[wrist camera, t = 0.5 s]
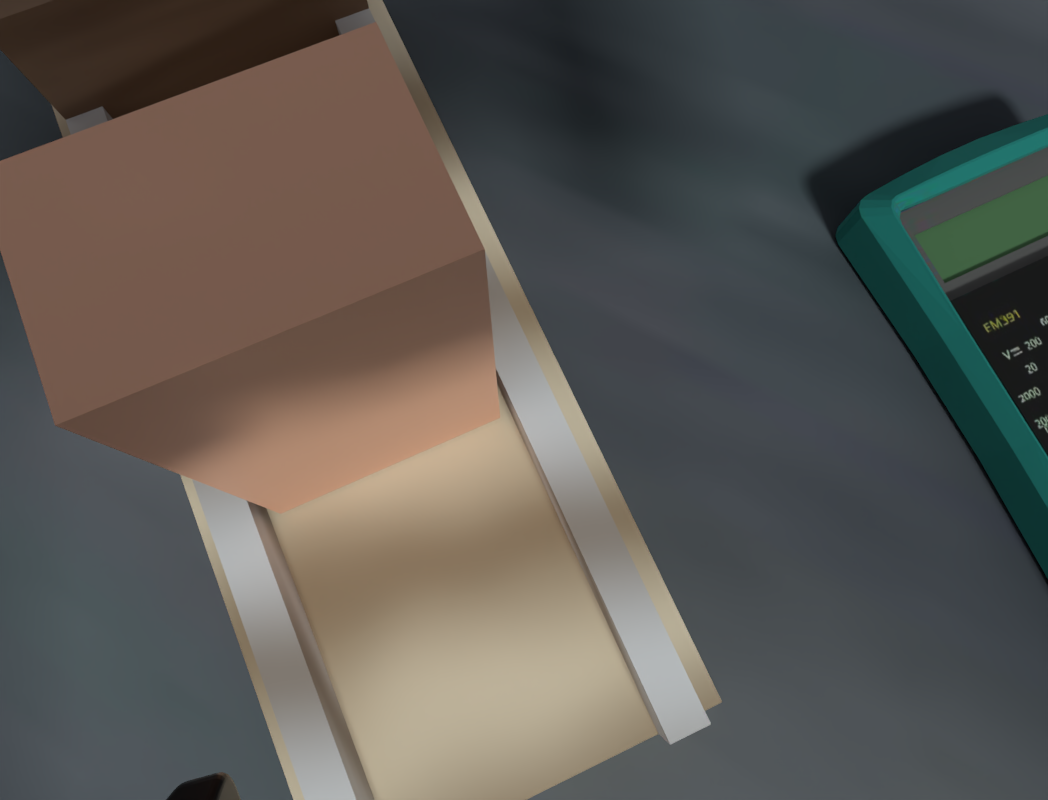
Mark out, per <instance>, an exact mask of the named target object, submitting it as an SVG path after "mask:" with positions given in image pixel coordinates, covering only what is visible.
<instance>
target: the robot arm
mask: <svg viewBox="0 0 1048 800" xmlns="http://www.w3.org/2000/svg"><path fill="white" fill-rule="evenodd" d="M166 800H241V799H240V796H239V794H238V791H237V789H236V786H235V784H234V781H233V780H232V779H231V777H230V776H229V775H228V774H225V773H222V772H219V773H215V774H212V775H208V776H204V777H201V778H197V779H193V780H189V781H186V782H184V783H182V784H180V785H179V786H178V787H177V788H176V789H175V790H174V791H173V792H172V793H171V795H170V796H169V797H168V798H167V799H166Z"/></svg>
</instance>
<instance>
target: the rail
mask: <svg viewBox="0 0 1048 800" xmlns="http://www.w3.org/2000/svg"><path fill="white" fill-rule="evenodd" d="M374 22H376V23H377V25H378V27H379V29H380V31H381V33H382V35H383V37H384V39H385V42H386V44H387V46H388V48H389V50H390V52H391V54H392V56H393V58H394V60H395V62H396V65H397V67H398V69H399V71H400V73H401V75H402V77H403V79H404V81H405V83H406V85H407V88H408V90H409V92H410V94H411V96H412V98H413V100H414V102H415V104H416V106H417V108H418V111H419V113H420V115H421V117H422V119H423V121H424V123H425V125H426V127H427V129H428V132H429V134H430V136H431V138H432V140H433V142H434V144H435V146H436V148H437V150H438V152H439V155H440V157H441V159H442V161H443V163H444V165H445V167H446V169H447V171H448V173H449V175H450V178H451V180H452V182H453V184H454V186H455V188H456V190H457V192H458V194H459V196H460V198H461V201H462V203H463V205H464V207H465V209H466V211H467V213H468V215H469V217H470V219H471V221H472V224H473V226H474V228H475V230H476V232H477V234H478V236H479V238H480V240H481V242H482V245H483V247H484V249H485V258H486V269H487V279H488V290H489V301H490V312H491V323H492V334H493V344H494V355H495V366H496V377H497V388H498V399H499V409H500V418H498V419H496V420H494V421H492V422H489V423H487V424H485V425H482V426H480V427H478V428H476V429H473V430H471V431H469V432H466V433H464V434H462V435H460V436H457V437H455V438H453V439H450V440H448V441H446V442H444V443H441V444H439V445H437V446H434V447H432V448H430V449H428V450H425V451H423V452H421V453H418V454H416V455H414V456H412V457H409V458H407V459H405V460H402V461H400V462H398V463H396V464H393V465H391V466H389V467H386V468H384V469H382V470H380V471H377V472H375V473H373V474H370V475H368V476H366V477H364V478H361V479H359V480H357V481H354V482H352V483H350V484H348V485H345V486H343V487H341V488H338V489H336V490H334V491H332V492H329V493H327V494H325V495H322V496H320V497H318V498H316V499H313V500H311V501H309V502H306V503H304V504H302V505H300V506H297V507H295V508H293V509H290V510H288V511H286V512H284V513H281V514H280V513H277V512H275V511H272V510H270V509H267V508H265V507H262V506H260V505H257V504H254V503H252V502H249V501H247V500H244V499H242V498H239V497H237V496H234V495H231V494H229V493H226V492H224V491H221V490H219V489H216V488H214V487H211V486H208V485H206V484H203V483H201V482H198V481H196V480H193V479H191V478H188V477H185V476H183V475H181V478H182V481H183V484H184V487H185V490H186V493H187V495H188V498H189V501H190V504H191V507H192V510H193V513H194V516H195V518H196V521H197V524H198V527H199V530H200V533H201V536H202V539H203V541H204V544H205V547H206V550H207V553H208V556H209V559H210V561H211V564H212V567H213V570H214V573H215V576H216V579H217V582H218V584H219V587H220V590H221V593H222V596H223V599H224V602H225V605H226V607H227V610H228V613H229V616H230V619H231V622H232V625H233V628H234V630H235V633H236V636H237V639H238V642H239V645H240V648H241V650H242V653H243V656H244V659H245V662H246V665H247V668H248V671H249V673H250V676H251V679H252V682H253V685H254V688H255V691H256V694H257V696H258V699H259V702H260V705H261V708H262V711H263V714H264V717H265V719H266V722H267V725H268V728H269V731H270V734H271V737H272V740H273V742H274V745H275V748H276V751H277V754H278V757H279V760H280V762H281V765H282V768H283V771H284V774H285V777H286V780H287V783H288V785H289V788H290V791H291V794H292V797H293V800H526V799H528V798H530V797H532V796H534V795H536V794H538V793H540V792H543V791H545V790H547V789H549V788H551V787H553V786H555V785H557V784H559V783H561V782H563V781H565V780H567V779H569V778H571V777H573V776H575V775H577V774H579V773H581V772H583V771H585V770H587V769H589V768H591V767H593V766H595V765H597V764H599V763H601V762H603V761H605V760H607V759H609V758H611V757H613V756H615V755H617V754H619V753H621V752H623V751H625V750H627V749H629V748H631V747H633V746H635V745H637V744H639V743H641V742H643V741H645V740H647V739H649V738H651V737H653V736H655V735H657V734H659V735H660V736H661V737H662V738H664V739H665V740H666V741H667V742H668V743H669V744H672V743H674V742H676V741H678V740H680V739H682V738H684V737H686V736H688V735H690V734H692V733H694V732H696V731H698V730H700V729H702V728H704V727H706V726H708V725H710V724H711V723H710V721H709V719H708V717H707V715H706V713H705V710H707V709H709V708H711V707H713V706H715V705H717V704H719V703H721V702H722V701H721V699H720V697H719V695H718V693H717V690H716V688H715V686H714V684H713V682H712V680H711V678H710V676H709V674H708V672H707V670H706V668H705V666H704V664H703V662H702V659H701V657H700V655H699V653H698V651H697V649H696V647H695V645H694V643H693V641H692V639H691V637H690V635H689V633H688V631H687V628H686V626H685V624H684V622H683V620H682V618H681V616H680V614H679V612H678V610H677V608H676V606H675V604H674V602H673V600H672V597H671V595H670V593H669V591H668V589H667V587H666V585H665V583H664V581H663V579H662V577H661V575H660V573H659V571H658V569H657V566H656V564H655V562H654V560H653V558H652V556H651V554H650V552H649V550H648V548H647V546H646V544H645V542H644V540H643V538H642V535H641V533H640V531H639V529H638V527H637V525H636V523H635V521H634V519H633V517H632V515H631V513H630V511H629V509H628V507H627V505H626V502H625V500H624V498H623V496H622V494H621V492H620V490H619V488H618V486H617V484H616V482H615V480H614V478H613V476H612V474H611V471H610V469H609V467H608V465H607V463H606V461H605V459H604V457H603V455H602V453H601V451H600V449H599V447H598V445H597V443H596V440H595V438H594V436H593V434H592V432H591V430H590V428H589V426H588V424H587V422H586V420H585V418H584V416H583V414H582V412H581V409H580V407H579V405H578V403H577V401H576V399H575V397H574V395H573V393H572V391H571V389H570V387H569V385H568V383H567V381H566V378H565V376H564V374H563V372H562V370H561V368H560V366H559V364H558V362H557V360H556V358H555V356H554V354H553V352H552V350H551V347H550V345H549V343H548V341H547V339H546V337H545V335H544V333H543V331H542V329H541V327H540V325H539V323H538V321H537V319H536V317H535V314H534V312H533V310H532V308H531V306H530V304H529V302H528V300H527V298H526V296H525V294H524V292H523V290H522V288H521V286H520V283H519V281H518V279H517V277H516V275H515V273H514V271H513V269H512V267H511V265H510V263H509V261H508V259H507V257H506V255H505V252H504V250H503V248H502V246H501V244H500V242H499V240H498V238H497V236H496V234H495V232H494V230H493V228H492V226H491V224H490V221H489V219H488V217H487V215H486V213H485V211H484V209H483V207H482V205H481V203H480V201H479V199H478V197H477V195H476V193H475V190H474V188H473V186H472V184H471V182H470V180H469V178H468V176H467V174H466V172H465V170H464V168H463V166H462V164H461V162H460V159H459V157H458V155H457V153H456V151H455V149H454V147H453V145H452V143H451V141H450V139H449V137H448V135H447V133H446V131H445V129H444V126H443V124H442V122H441V120H440V118H439V116H438V114H437V112H436V110H435V108H434V106H433V104H432V102H431V100H430V98H429V95H428V93H427V91H426V89H425V87H424V85H423V83H422V81H421V79H420V77H419V75H418V73H417V71H416V69H415V67H414V64H413V62H412V60H411V58H410V56H409V54H408V52H407V50H406V48H405V46H404V44H403V42H402V40H401V38H400V36H399V33H398V31H397V29H396V27H395V25H394V23H393V21H392V19H391V17H390V15H389V13H388V11H387V9H386V7H385V5H384V2H383V0H0V50H1V51H2V52H3V53H4V54H5V55H6V56H7V57H8V58H9V59H10V60H11V61H12V63H13V64H14V65H15V66H16V67H17V68H18V69H19V70H20V71H21V72H22V73H23V74H24V75H25V77H26V78H27V79H28V80H29V81H30V82H31V83H32V84H33V85H34V86H35V87H36V88H37V89H38V91H39V92H40V93H41V94H42V95H43V96H44V97H45V98H46V99H47V100H48V101H49V102H50V103H51V105H52V108H53V111H54V114H55V116H56V119H57V122H58V125H59V128H60V131H61V134H62V137H66V136H69V135H72V134H74V133H77V132H80V131H82V130H85V129H88V128H90V127H93V126H96V125H99V124H101V123H104V122H107V121H109V120H112V119H115V118H117V117H120V116H123V115H126V114H128V113H131V112H134V111H136V110H139V109H142V108H144V107H147V106H150V105H153V104H155V103H158V102H161V101H163V100H166V99H169V98H171V97H174V96H177V95H180V94H182V93H185V92H188V91H190V90H193V89H196V88H199V87H201V86H204V85H207V84H209V83H212V82H215V81H217V80H220V79H223V78H226V77H228V76H231V75H234V74H236V73H239V72H242V71H244V70H247V69H250V68H253V67H255V66H258V65H261V64H263V63H266V62H269V61H271V60H274V59H277V58H280V57H282V56H285V55H288V54H290V53H293V52H296V51H298V50H301V49H304V48H307V47H309V46H312V45H315V44H317V43H320V42H323V41H325V40H328V39H331V38H334V37H336V36H339V35H342V34H344V33H347V32H350V31H352V30H355V29H358V28H361V27H363V26H366V25H369V24H371V23H374Z"/></svg>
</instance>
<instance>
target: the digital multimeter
mask: <svg viewBox="0 0 1048 800" xmlns="http://www.w3.org/2000/svg"><path fill="white" fill-rule="evenodd" d="M917 204H918V205H917ZM915 205H916V206H915ZM910 207H911V208H910ZM908 208H909V209H908ZM905 209H907V210H905ZM903 210H904V211H903ZM901 211H902V212H901ZM835 236H836V239H837V243H838V245H839V246H840V248H841V249H842V251H843V252H844V253H845V255H846V256H847V258H848V259H849V261H850V262H851V264H852V265H853V267H854V268H855V270H856V271H857V273H858V274H859V276H860V277H861V278H862V280H863V281H864V283H865V284H866V286H867V287H868V289H869V290H870V292H871V293H872V295H873V296H874V298H875V299H876V301H877V302H878V303H879V305H880V306H881V308H882V309H883V311H884V312H885V314H886V315H887V317H888V318H889V320H890V321H891V323H892V324H893V326H894V327H895V328H896V330H897V331H898V333H899V334H900V336H901V337H902V339H903V340H904V342H905V343H906V345H907V346H908V348H909V349H910V350H911V352H912V353H913V355H914V356H915V358H916V360H917V361H918V363H919V364H920V366H921V368H922V369H923V371H924V372H925V374H926V376H927V377H928V379H929V380H930V382H931V384H932V385H933V387H934V388H935V390H936V392H937V393H938V395H939V396H940V398H941V400H942V401H943V403H944V404H945V406H946V408H947V409H948V411H949V412H950V414H951V415H952V417H953V419H954V420H955V422H956V423H957V425H958V427H959V428H960V430H961V431H962V433H963V435H964V436H965V438H966V439H967V441H968V442H969V444H970V446H971V447H972V449H973V450H974V452H975V454H976V455H977V457H978V458H979V460H980V462H981V464H982V465H983V467H984V469H985V470H986V472H987V474H988V476H989V477H990V479H991V481H992V483H993V484H994V486H995V488H996V490H997V491H998V493H999V495H1000V497H1001V498H1002V500H1003V502H1004V504H1005V505H1006V507H1007V509H1008V511H1009V512H1010V514H1011V516H1012V518H1013V519H1014V521H1015V523H1016V525H1017V526H1018V528H1019V530H1020V532H1021V533H1022V535H1023V537H1024V538H1025V540H1026V542H1027V544H1028V545H1029V547H1030V549H1031V551H1032V552H1033V554H1034V556H1035V557H1036V559H1037V561H1038V563H1039V564H1040V566H1041V568H1042V570H1043V571H1044V573H1045V575H1046V577H1047V579H1048V456H1047V454H1048V114H1047V115H1044V116H1041V117H1038V118H1035V119H1032V120H1029V121H1026V122H1023V123H1020V124H1017V125H1014V126H1011V127H1009V128H1006V129H1003V130H1000V131H998V132H995V133H992V134H990V135H987V136H984V137H981V138H979V139H977V140H974V141H972V142H970V143H967V144H965V145H963V146H961V147H958V148H956V149H954V150H951V151H949V152H947V153H945V154H942V155H940V156H938V157H937V158H935V159H933V160H931V161H929V162H927V163H925V164H923V165H921V166H919V167H917V168H915V169H913V170H911V171H909V172H907V173H905V174H904V175H902V176H900V177H898V178H896V179H895V180H893V181H891V182H889V183H887V184H885V185H884V186H882V187H880V188H878V189H876V190H875V191H873V192H871V193H869V194H868V195H866V196H865V197H864V198H863V199H862V200H861V201H860V202H859V203H858V204H857V205H856V207H855V208H854V209H853V210H852V211H851V212H850V214H849V215H848V216H847V217H846V218H845V219H844V221H843V222H842V223H841V224H840V225H839V226H838V228H837V231H836V235H835ZM951 302H952V303H951ZM952 304H953V305H954V307H955V308H956V310H957V311H956V310H955V308H954V307H953V305H952ZM957 312H958V313H959V315H960V316H961V318H962V319H963V321H964V323H965V324H966V326H967V327H968V329H969V331H970V332H971V334H972V335H973V337H974V338H975V340H976V342H977V343H978V345H979V346H980V348H981V349H982V351H983V353H984V354H985V356H986V357H987V359H988V360H989V362H990V364H991V365H992V367H993V368H994V370H995V372H996V373H997V375H998V376H999V378H1000V379H1001V381H1002V383H1003V384H1004V386H1005V387H1006V389H1007V390H1008V392H1009V394H1010V395H1011V397H1012V398H1013V400H1014V402H1015V403H1016V405H1017V406H1018V408H1019V409H1020V411H1021V413H1022V414H1023V416H1024V417H1025V419H1026V420H1027V422H1028V424H1029V425H1030V427H1031V428H1032V430H1033V432H1034V433H1035V435H1036V436H1037V438H1038V439H1039V441H1040V443H1041V444H1042V446H1043V447H1044V449H1045V450H1046V452H1047V454H1046V452H1045V451H1044V449H1043V448H1042V446H1041V445H1040V443H1039V441H1038V440H1037V438H1036V437H1035V435H1034V434H1033V432H1032V430H1031V429H1030V427H1029V426H1028V424H1027V423H1026V421H1025V419H1024V418H1023V416H1022V415H1021V413H1020V411H1019V410H1018V408H1017V407H1016V405H1015V404H1014V402H1013V400H1012V399H1011V397H1010V396H1009V394H1008V392H1007V391H1006V389H1005V388H1004V386H1003V385H1002V383H1001V381H1000V380H999V378H998V377H997V375H996V373H995V372H994V370H993V369H992V367H991V366H990V364H989V362H988V361H987V359H986V358H985V356H984V354H983V353H982V351H981V350H980V348H979V347H978V345H977V343H976V342H975V340H974V339H973V337H972V335H971V334H970V332H969V331H968V329H967V327H966V326H965V324H964V323H963V321H962V319H961V318H960V316H959V315H958V313H957Z"/></svg>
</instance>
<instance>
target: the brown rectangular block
mask: <svg viewBox="0 0 1048 800" xmlns="http://www.w3.org/2000/svg"><path fill="white" fill-rule="evenodd" d="M0 251H1V254H2V257H3V261H4V264H5V267H6V270H7V273H8V277H9V280H10V283H11V286H12V289H13V293H14V296H15V299H16V302H17V305H18V308H19V312H20V315H21V318H22V321H23V324H24V328H25V331H26V334H27V337H28V340H29V344H30V347H31V350H32V353H33V356H34V359H35V363H36V366H37V369H38V372H39V375H40V379H41V382H42V385H43V388H44V391H45V395H46V398H47V401H48V404H49V407H50V410H51V414H52V417H53V420H54V423H55V426H58V427H60V428H63V429H65V430H68V431H70V432H73V433H76V434H78V435H81V436H83V437H86V438H88V439H91V440H93V441H96V442H99V443H101V444H104V445H106V446H109V447H111V448H114V449H116V450H119V451H122V452H124V453H127V454H129V455H132V456H134V457H137V458H139V459H142V460H145V461H147V462H150V463H152V464H155V465H157V466H160V467H162V468H165V469H168V470H170V471H173V472H175V473H178V474H180V475H183V476H185V477H188V478H191V479H193V480H196V481H198V482H201V483H203V484H206V485H208V486H211V487H214V488H216V489H219V490H221V491H224V492H226V493H229V494H231V495H234V496H237V497H239V498H242V499H244V500H247V501H249V502H252V503H254V504H257V505H260V506H262V507H265V508H267V509H270V510H272V511H275V512H277V513H280V514H281V513H284V512H286V511H288V510H290V509H293V508H295V507H297V506H300V505H302V504H304V503H306V502H309V501H311V500H313V499H316V498H318V497H320V496H322V495H325V494H327V493H329V492H332V491H334V490H336V489H338V488H341V487H343V486H345V485H348V484H350V483H352V482H354V481H357V480H359V479H361V478H364V477H366V476H368V475H370V474H373V473H375V472H377V471H380V470H382V469H384V468H386V467H389V466H391V465H393V464H396V463H398V462H400V461H402V460H405V459H407V458H409V457H412V456H414V455H416V454H418V453H421V452H423V451H425V450H428V449H430V448H432V447H434V446H437V445H439V444H441V443H444V442H446V441H448V440H450V439H453V438H455V437H457V436H460V435H462V434H464V433H466V432H469V431H471V430H473V429H476V428H478V427H480V426H482V425H485V424H487V423H489V422H492V421H494V420H496V419H498V418H500V409H499V399H498V388H497V377H496V366H495V355H494V344H493V334H492V323H491V312H490V301H489V290H488V279H487V269H486V258H485V249H484V247H483V245H482V242H481V240H480V238H479V236H478V234H477V232H476V230H475V228H474V226H473V224H472V221H471V219H470V217H469V215H468V213H467V211H466V209H465V207H464V205H463V203H462V201H461V198H460V196H459V194H458V192H457V190H456V188H455V186H454V184H453V182H452V180H451V178H450V175H449V173H448V171H447V169H446V167H445V165H444V163H443V161H442V159H441V157H440V155H439V152H438V150H437V148H436V146H435V144H434V142H433V140H432V138H431V136H430V134H429V132H428V129H427V127H426V125H425V123H424V121H423V119H422V117H421V115H420V113H419V111H418V108H417V106H416V104H415V102H414V100H413V98H412V96H411V94H410V92H409V90H408V88H407V85H406V83H405V81H404V79H403V77H402V75H401V73H400V71H399V69H398V67H397V65H396V62H395V60H394V58H393V56H392V54H391V52H390V50H389V48H388V46H387V44H386V42H385V39H384V37H383V35H382V33H381V31H380V29H379V27H378V25H377V23H376V22H374V23H371V24H369V25H366V26H363V27H361V28H358V29H355V30H352V31H350V32H347V33H344V34H342V35H339V36H336V37H334V38H331V39H328V40H325V41H323V42H320V43H317V44H315V45H312V46H309V47H307V48H304V49H301V50H298V51H296V52H293V53H290V54H288V55H285V56H282V57H280V58H277V59H274V60H271V61H269V62H266V63H263V64H261V65H258V66H255V67H253V68H250V69H247V70H244V71H242V72H239V73H236V74H234V75H231V76H228V77H226V78H223V79H220V80H217V81H215V82H212V83H209V84H207V85H204V86H201V87H199V88H196V89H193V90H190V91H188V92H185V93H182V94H180V95H177V96H174V97H171V98H169V99H166V100H163V101H161V102H158V103H155V104H153V105H150V106H147V107H144V108H142V109H139V110H136V111H134V112H131V113H128V114H126V115H123V116H120V117H117V118H115V119H112V120H109V121H107V122H104V123H101V124H99V125H96V126H93V127H90V128H88V129H85V130H82V131H80V132H77V133H74V134H72V135H69V136H66V137H63V138H61V139H58V140H55V141H53V142H50V143H47V144H45V145H42V146H39V147H36V148H34V149H31V150H28V151H26V152H23V153H20V154H18V155H15V156H12V157H9V158H7V159H4V160H1V161H0Z"/></svg>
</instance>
